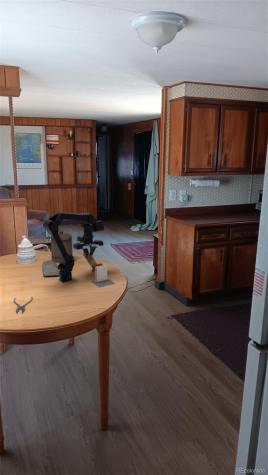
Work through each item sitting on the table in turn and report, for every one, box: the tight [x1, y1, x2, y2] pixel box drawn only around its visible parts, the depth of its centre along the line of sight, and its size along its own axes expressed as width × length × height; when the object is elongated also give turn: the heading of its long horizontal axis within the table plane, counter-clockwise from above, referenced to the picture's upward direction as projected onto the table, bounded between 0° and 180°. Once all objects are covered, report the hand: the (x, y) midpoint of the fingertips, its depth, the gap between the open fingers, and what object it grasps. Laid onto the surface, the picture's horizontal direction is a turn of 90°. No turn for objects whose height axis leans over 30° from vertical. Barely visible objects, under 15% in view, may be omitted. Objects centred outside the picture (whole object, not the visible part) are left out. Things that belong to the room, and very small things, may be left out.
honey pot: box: [16, 235, 37, 265], centre depth 244 cm, size 13×13×18 cm
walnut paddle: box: [83, 251, 103, 273], centre depth 215 cm, size 16×6×5 cm, turn 36°
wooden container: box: [50, 229, 74, 264], centre depth 247 cm, size 15×15×22 cm
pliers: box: [13, 296, 34, 314], centre depth 175 cm, size 10×1×20 cm
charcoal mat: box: [90, 278, 116, 288], centre depth 204 cm, size 11×11×1 cm
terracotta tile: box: [94, 264, 108, 282], centre depth 207 cm, size 7×2×9 cm, turn 126°
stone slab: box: [41, 260, 60, 278], centre depth 228 cm, size 10×3×30 cm
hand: (88, 257), depth 217 cm, fingers closed on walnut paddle, 2 cm apart
